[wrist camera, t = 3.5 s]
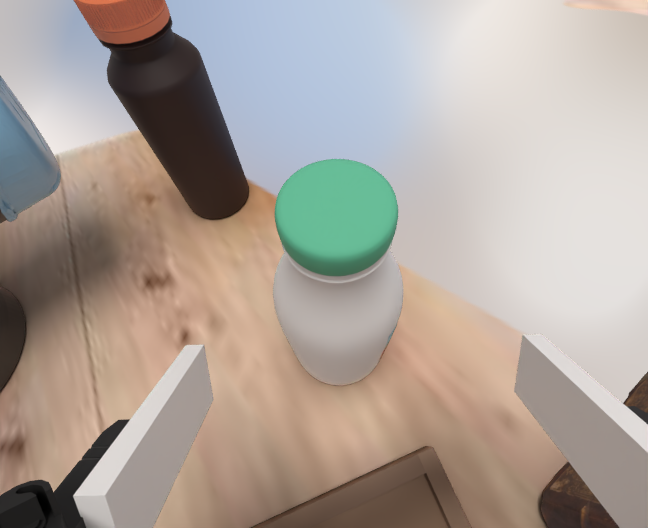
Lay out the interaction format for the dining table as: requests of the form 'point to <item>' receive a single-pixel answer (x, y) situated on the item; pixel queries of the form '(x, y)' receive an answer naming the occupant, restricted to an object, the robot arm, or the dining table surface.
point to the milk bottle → (337, 268)
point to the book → (583, 487)
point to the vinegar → (170, 101)
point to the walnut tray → (384, 499)
